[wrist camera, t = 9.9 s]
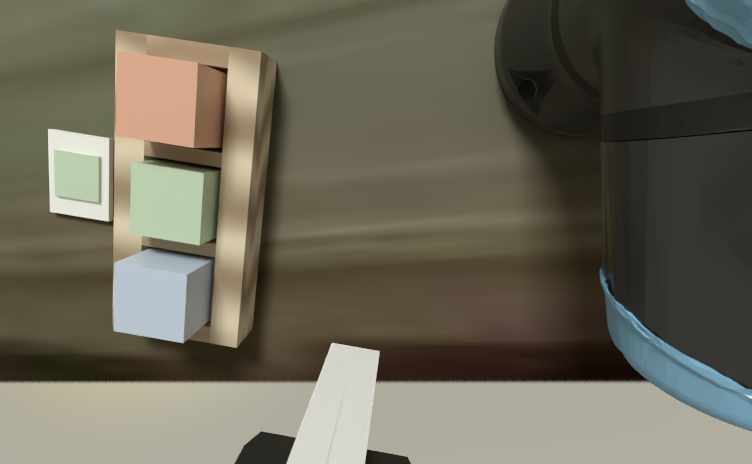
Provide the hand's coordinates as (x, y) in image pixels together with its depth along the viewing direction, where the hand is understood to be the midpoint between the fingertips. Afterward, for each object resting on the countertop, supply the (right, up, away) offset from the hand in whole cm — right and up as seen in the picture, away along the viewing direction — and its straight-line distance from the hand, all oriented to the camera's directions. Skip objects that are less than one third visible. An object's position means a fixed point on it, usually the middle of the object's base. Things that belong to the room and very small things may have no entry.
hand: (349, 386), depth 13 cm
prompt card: (-28, +10, +27) cm, 40 cm away
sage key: (-16, +8, +25) cm, 31 cm away
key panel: (-16, +8, +26) cm, 32 cm away
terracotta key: (-15, +16, +22) cm, 31 cm away
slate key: (-17, 0, +25) cm, 31 cm away
